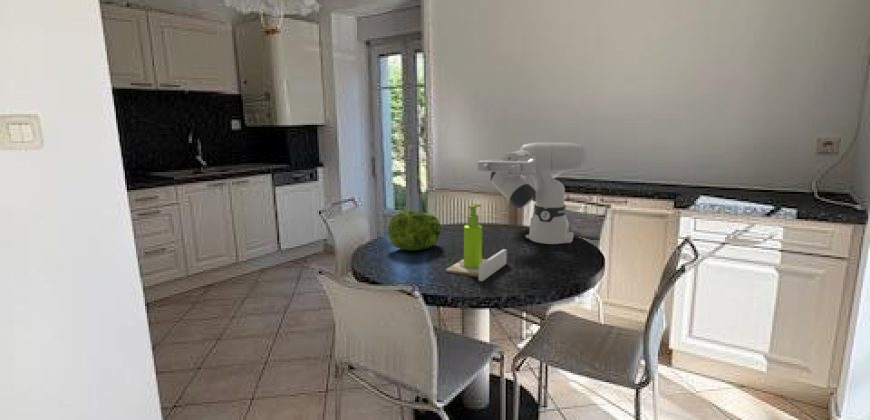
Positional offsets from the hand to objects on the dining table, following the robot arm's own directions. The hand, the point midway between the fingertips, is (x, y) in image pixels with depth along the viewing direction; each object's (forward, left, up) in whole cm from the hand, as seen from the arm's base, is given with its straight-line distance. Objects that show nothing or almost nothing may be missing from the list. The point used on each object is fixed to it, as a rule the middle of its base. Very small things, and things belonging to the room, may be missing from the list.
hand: (498, 168), depth 159 cm
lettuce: (0, -32, -32) cm, 45 cm away
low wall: (+13, +4, -32) cm, 35 cm away
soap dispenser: (+12, -3, -31) cm, 33 cm away
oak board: (+12, -3, -32) cm, 34 cm away
